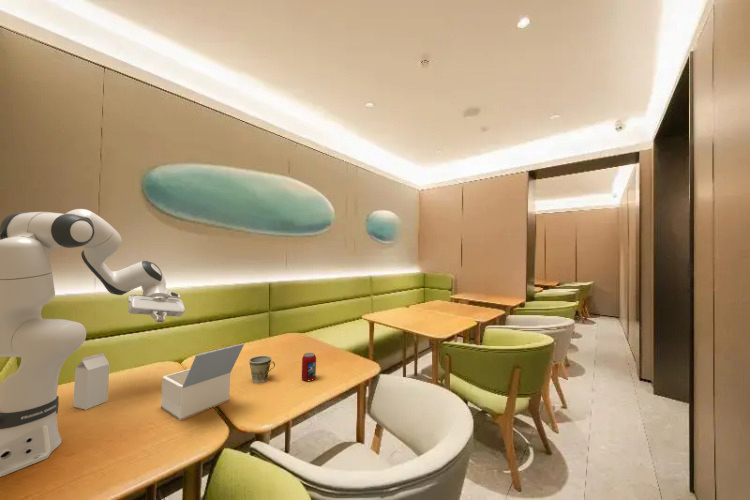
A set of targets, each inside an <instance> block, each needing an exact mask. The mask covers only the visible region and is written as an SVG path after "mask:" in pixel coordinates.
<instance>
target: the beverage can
mask: <svg viewBox="0 0 750 500" xmlns="http://www.w3.org/2000/svg"><path fill="white" fill-rule="evenodd" d="M316 373H317V357H316V354H315V353H314V352H306V353H304V354H303V356H302V359H301V380H302V381H304V380H306V381H305V382H309V381H308V380H312V379H313V380H315V379H316V376H317V375H316ZM314 378H315V379H314ZM313 380H312V381H313Z"/></svg>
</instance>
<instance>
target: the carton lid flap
mask: <svg viewBox="0 0 750 500" xmlns="http://www.w3.org/2000/svg"><path fill="white" fill-rule="evenodd" d="M244 346H245V343H242V342H241V343H239V344H234V345H230V346H225V347H226V348H225V347H222V348H219V349H215V350H210V351H206V352H201V353H199V354H198V353H197V354H196V355H195V357H194V358H193V361H192V364H191V366H190V368H189V369H190V370H189V373H188V375H187V377H186V380H185V382H184V384H183V388H185V387H188V386H191V385H194V384H197V383H200V382H203V381H206V380H209V379H212V378H215V377H218V376H221V375H225V374H228V373H230V374H231V373H232V371H233V368H234V366H235V365H236V362H237V360H238V359H239V355H240V354H241V352H242V350H243V347H244Z"/></svg>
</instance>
